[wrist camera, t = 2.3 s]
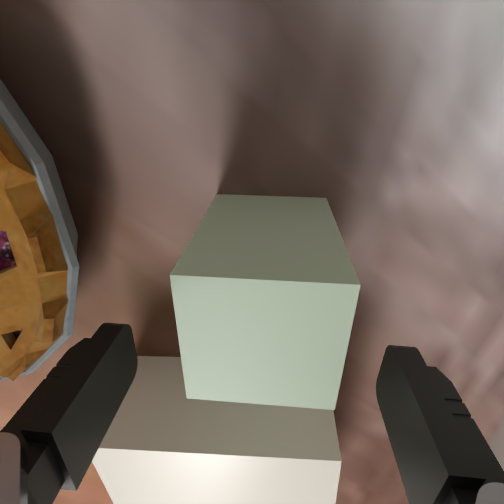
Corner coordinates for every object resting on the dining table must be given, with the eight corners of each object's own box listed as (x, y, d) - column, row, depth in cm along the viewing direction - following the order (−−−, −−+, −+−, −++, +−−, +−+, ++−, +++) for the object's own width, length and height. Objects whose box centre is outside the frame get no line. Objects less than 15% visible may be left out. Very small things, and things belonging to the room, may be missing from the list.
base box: (135, 352, 20) (85, 447, 15) (324, 357, 19) (341, 461, 14) (168, 458, 26) (139, 554, 21) (315, 467, 25) (325, 570, 19)
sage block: (217, 194, 15) (169, 274, 8) (326, 197, 14) (360, 284, 8) (221, 283, 17) (186, 398, 11) (314, 288, 17) (334, 410, 10)
